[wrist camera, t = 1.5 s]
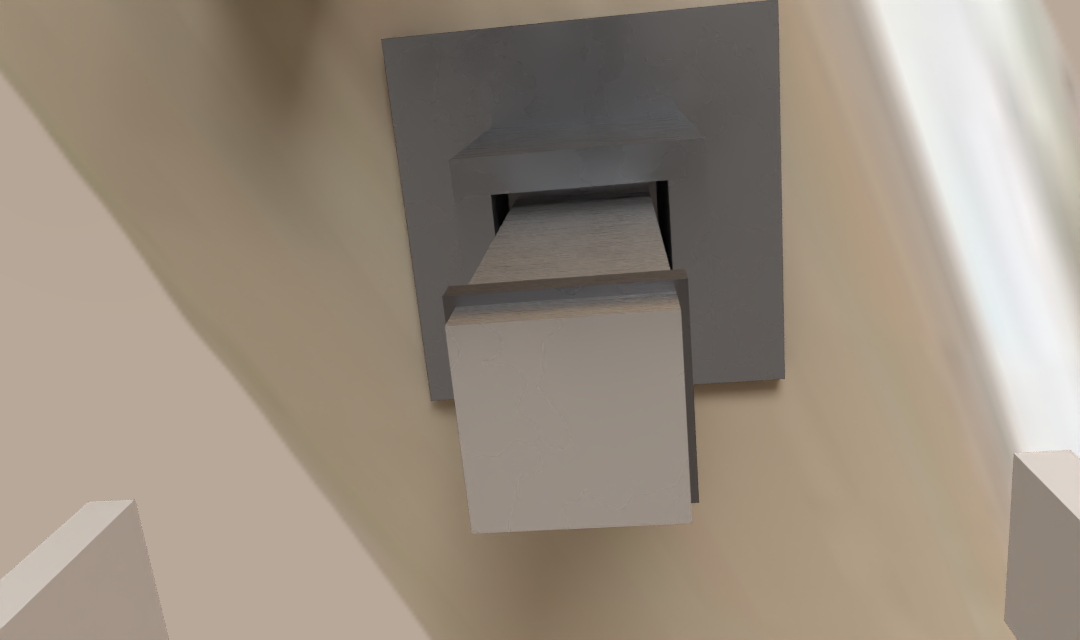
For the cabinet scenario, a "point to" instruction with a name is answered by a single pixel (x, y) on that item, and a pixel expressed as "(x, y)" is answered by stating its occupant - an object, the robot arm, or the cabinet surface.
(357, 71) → the cabinet surface
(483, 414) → the column
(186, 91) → the cabinet surface
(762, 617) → the cabinet surface
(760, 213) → the stand base
